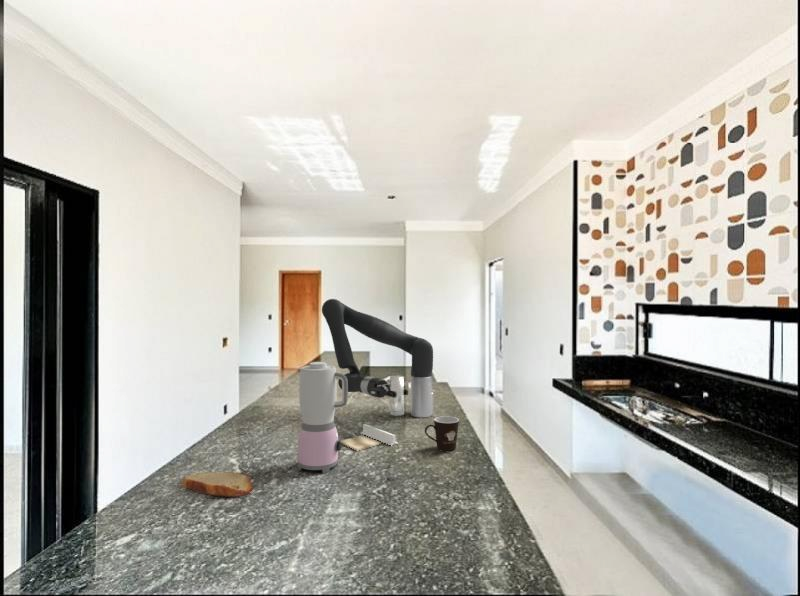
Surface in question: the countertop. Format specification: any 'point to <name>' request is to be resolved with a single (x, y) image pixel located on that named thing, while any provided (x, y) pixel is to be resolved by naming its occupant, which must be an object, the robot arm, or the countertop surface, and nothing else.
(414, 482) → the countertop surface
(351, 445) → the oak board
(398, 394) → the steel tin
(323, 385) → the blender
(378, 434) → the acrylic fence
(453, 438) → the coffee mug
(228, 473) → the bread slice
